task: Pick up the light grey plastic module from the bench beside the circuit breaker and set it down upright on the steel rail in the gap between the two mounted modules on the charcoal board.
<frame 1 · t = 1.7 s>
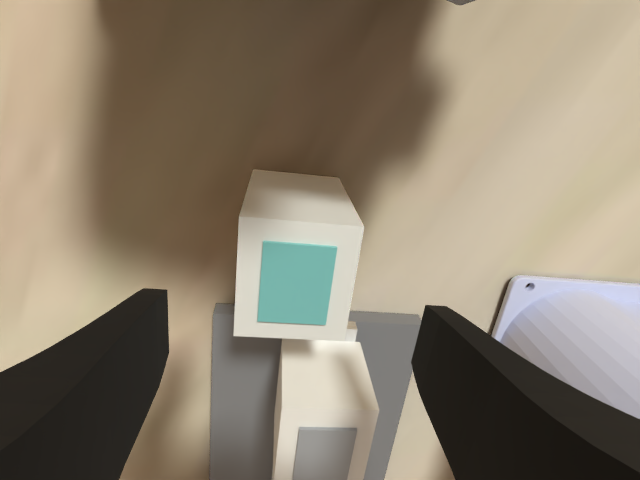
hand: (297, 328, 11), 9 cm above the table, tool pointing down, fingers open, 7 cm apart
module: (292, 218, 20), on the table
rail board: (303, 432, 25), on the table
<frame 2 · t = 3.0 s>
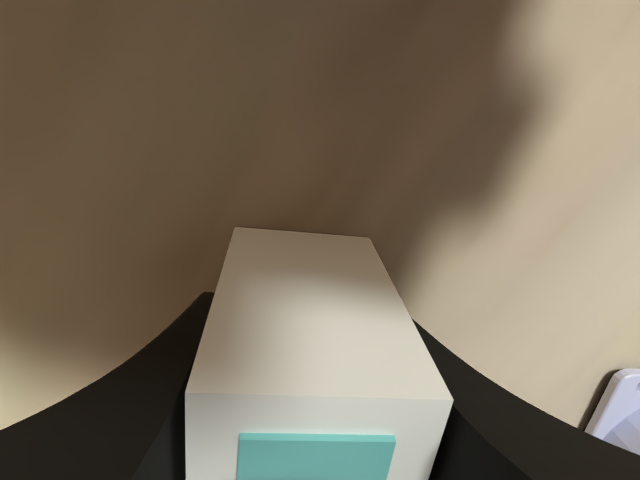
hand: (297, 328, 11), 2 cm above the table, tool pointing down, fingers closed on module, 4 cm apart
module: (296, 297, 13), on the table, touching gripper
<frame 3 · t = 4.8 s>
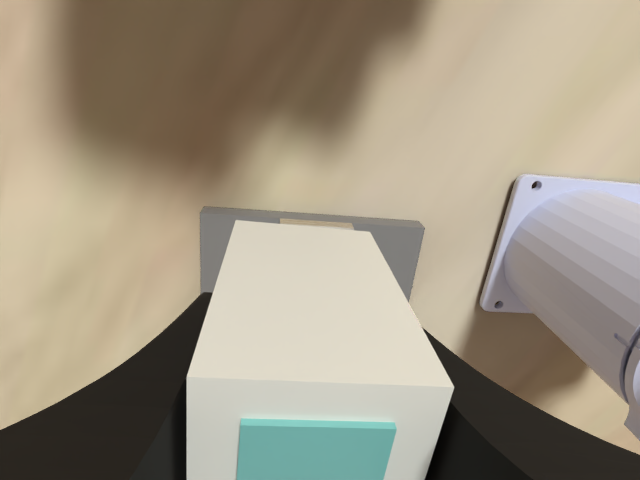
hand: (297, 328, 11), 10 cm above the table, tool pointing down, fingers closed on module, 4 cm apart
module: (296, 292, 13), point 8 cm above the table, touching gripper
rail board: (299, 356, 24), on the table
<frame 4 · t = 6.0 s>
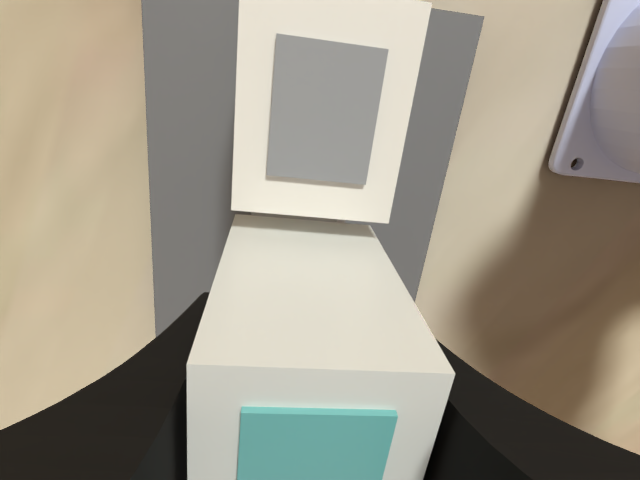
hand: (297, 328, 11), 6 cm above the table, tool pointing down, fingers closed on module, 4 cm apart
module: (296, 286, 13), point 5 cm above the table, touching gripper
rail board: (293, 239, 17), on the table
when the fingers open (5 cm above the table, at t = 6.7 s): module drops 1 cm, resting on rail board.
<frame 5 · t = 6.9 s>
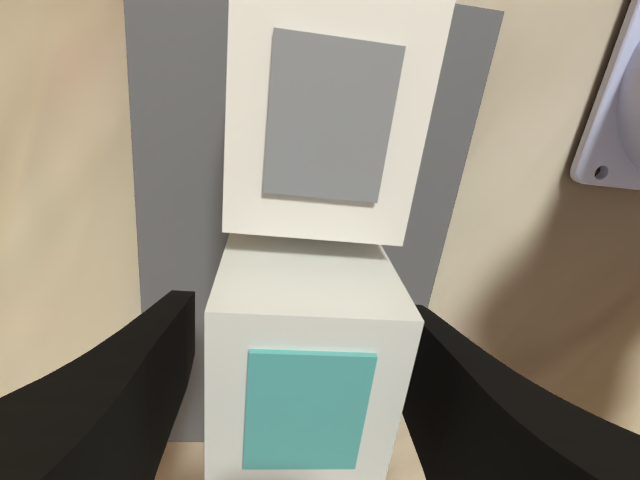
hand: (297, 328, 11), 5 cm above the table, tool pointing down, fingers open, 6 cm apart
module: (295, 266, 14), point 2 cm above the table, touching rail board
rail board: (293, 254, 16), on the table
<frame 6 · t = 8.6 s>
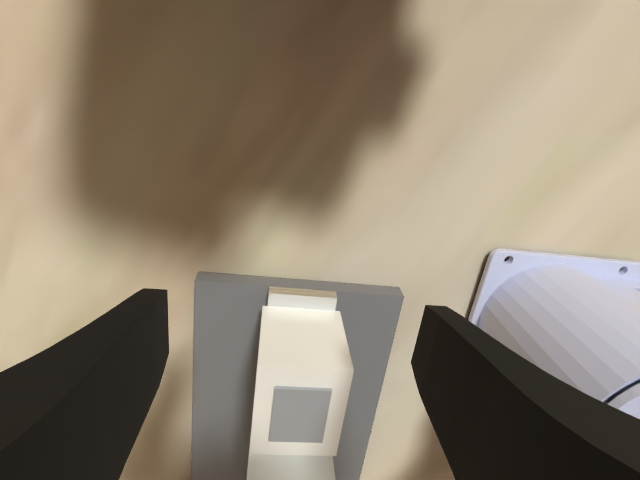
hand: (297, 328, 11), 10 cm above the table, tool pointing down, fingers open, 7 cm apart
module: (286, 423, 24), point 2 cm above the table, touching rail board
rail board: (285, 405, 25), on the table
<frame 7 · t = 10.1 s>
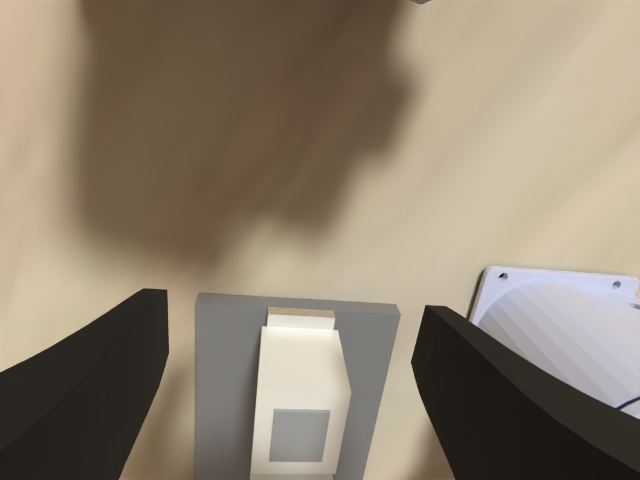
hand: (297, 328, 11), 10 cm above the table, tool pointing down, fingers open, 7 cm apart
module: (287, 438, 24), point 2 cm above the table, touching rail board
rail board: (286, 419, 26), on the table
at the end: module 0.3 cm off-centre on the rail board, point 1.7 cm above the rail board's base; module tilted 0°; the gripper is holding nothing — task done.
